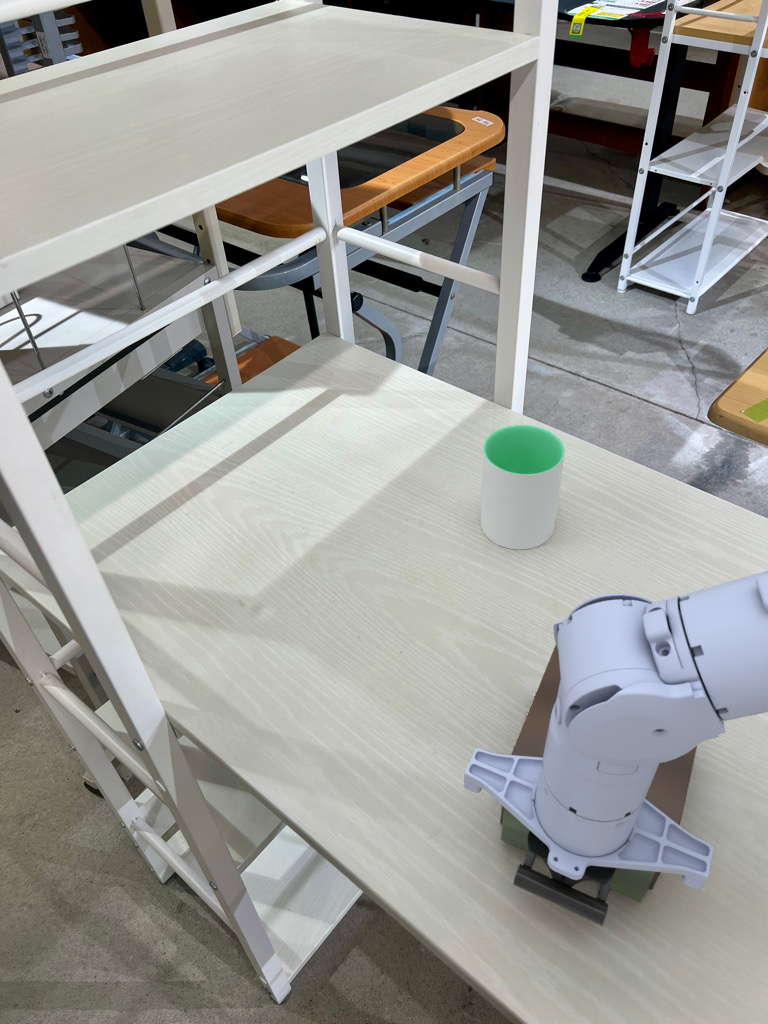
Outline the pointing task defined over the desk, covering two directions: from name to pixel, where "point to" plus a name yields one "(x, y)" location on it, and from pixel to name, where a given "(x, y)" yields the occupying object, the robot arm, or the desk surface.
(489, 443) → the mug
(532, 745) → the cabinet
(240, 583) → the desk surface
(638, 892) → the drawer
